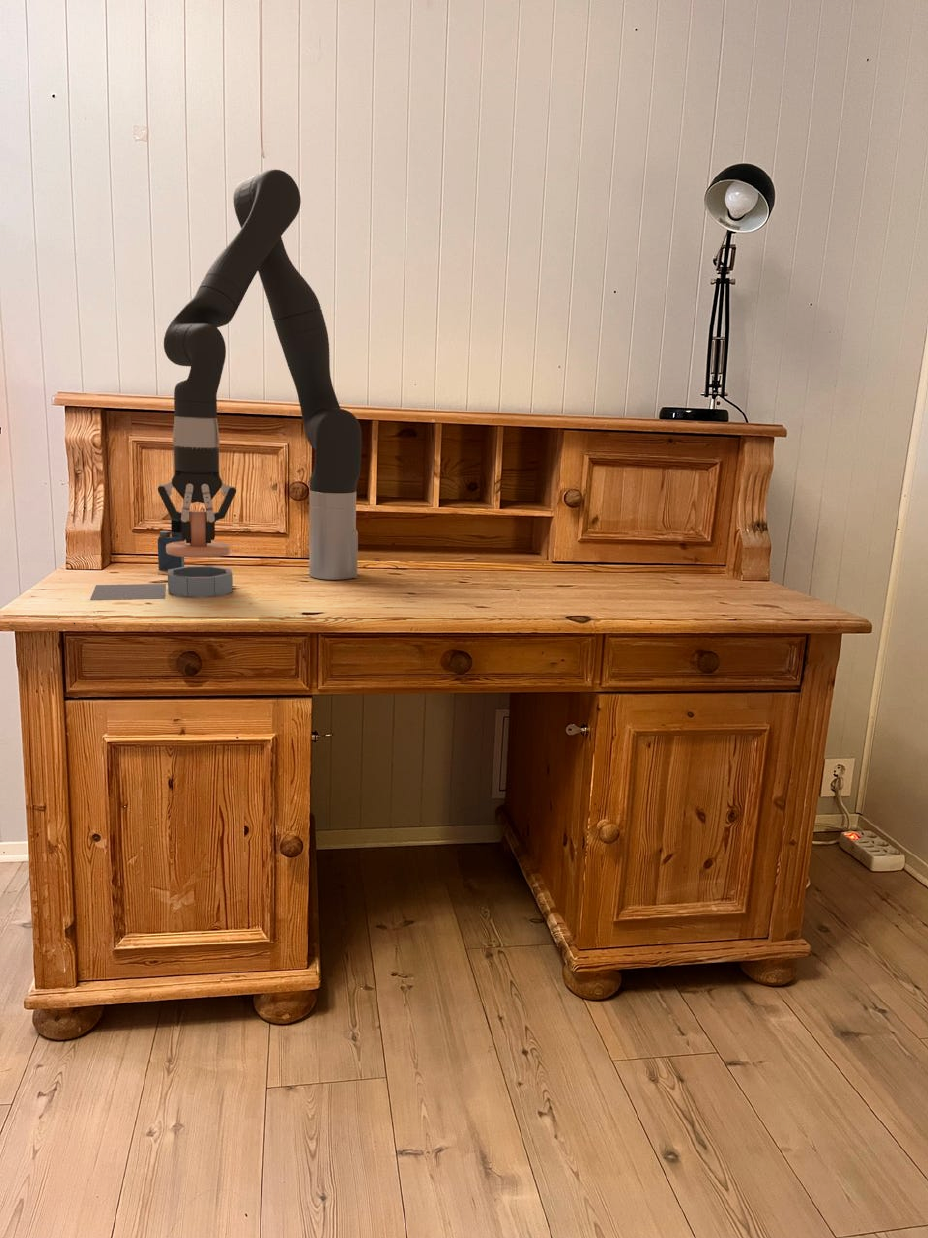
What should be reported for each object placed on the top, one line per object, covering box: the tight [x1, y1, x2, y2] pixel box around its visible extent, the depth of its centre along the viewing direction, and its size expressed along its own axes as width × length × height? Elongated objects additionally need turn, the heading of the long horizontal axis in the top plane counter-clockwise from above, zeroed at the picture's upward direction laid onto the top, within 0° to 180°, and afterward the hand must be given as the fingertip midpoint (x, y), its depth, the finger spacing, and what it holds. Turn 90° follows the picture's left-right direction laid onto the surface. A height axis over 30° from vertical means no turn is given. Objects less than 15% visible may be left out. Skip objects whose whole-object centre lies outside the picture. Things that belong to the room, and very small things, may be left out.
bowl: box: [167, 565, 234, 598], centre depth 161 cm, size 11×11×4 cm
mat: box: [89, 583, 167, 601], centre depth 158 cm, size 12×12×1 cm
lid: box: [166, 510, 231, 559], centre depth 159 cm, size 11×11×7 cm
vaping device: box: [157, 517, 186, 572], centre depth 177 cm, size 3×5×12 cm, turn 89°
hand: (198, 542), depth 159 cm, fingers closed on lid, 3 cm apart
